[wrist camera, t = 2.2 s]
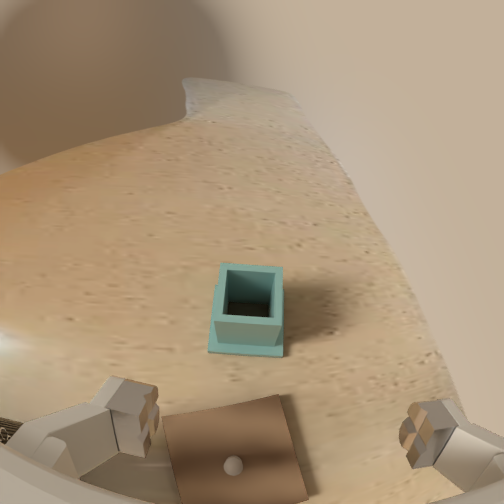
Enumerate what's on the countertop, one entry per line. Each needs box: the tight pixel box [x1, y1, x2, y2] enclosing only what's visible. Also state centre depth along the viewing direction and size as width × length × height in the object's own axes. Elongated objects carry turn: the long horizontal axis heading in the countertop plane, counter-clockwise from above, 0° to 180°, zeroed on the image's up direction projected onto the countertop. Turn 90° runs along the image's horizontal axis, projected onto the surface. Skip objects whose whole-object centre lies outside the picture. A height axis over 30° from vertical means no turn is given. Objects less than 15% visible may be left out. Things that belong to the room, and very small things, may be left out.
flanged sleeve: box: [208, 263, 284, 358], centre depth 33 cm, size 8×8×8 cm
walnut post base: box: [162, 394, 309, 504], centre depth 25 cm, size 12×12×6 cm
